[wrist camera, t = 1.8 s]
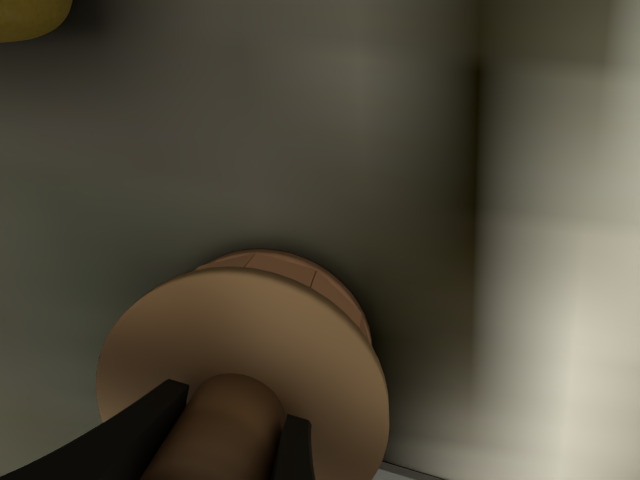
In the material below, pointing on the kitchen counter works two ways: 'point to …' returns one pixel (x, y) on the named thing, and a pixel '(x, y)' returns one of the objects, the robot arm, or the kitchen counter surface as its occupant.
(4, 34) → the flower pot
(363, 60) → the kitchen counter surface
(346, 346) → the lid
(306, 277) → the bowl
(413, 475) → the mat
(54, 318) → the kitchen counter surface
